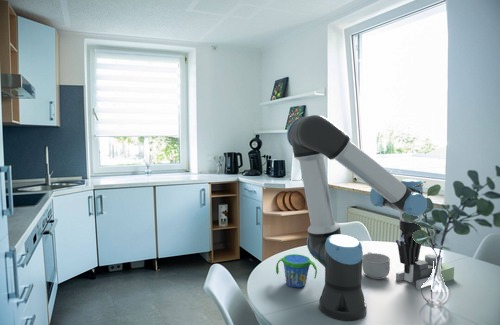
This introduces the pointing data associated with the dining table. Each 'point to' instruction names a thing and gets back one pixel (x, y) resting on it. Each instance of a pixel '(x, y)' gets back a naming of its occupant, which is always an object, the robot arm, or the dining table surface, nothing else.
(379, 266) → the teacup
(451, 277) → the green and grey blocks
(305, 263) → the snack cup
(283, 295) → the dining table surface
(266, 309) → the dining table surface
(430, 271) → the dark grey stepped block
